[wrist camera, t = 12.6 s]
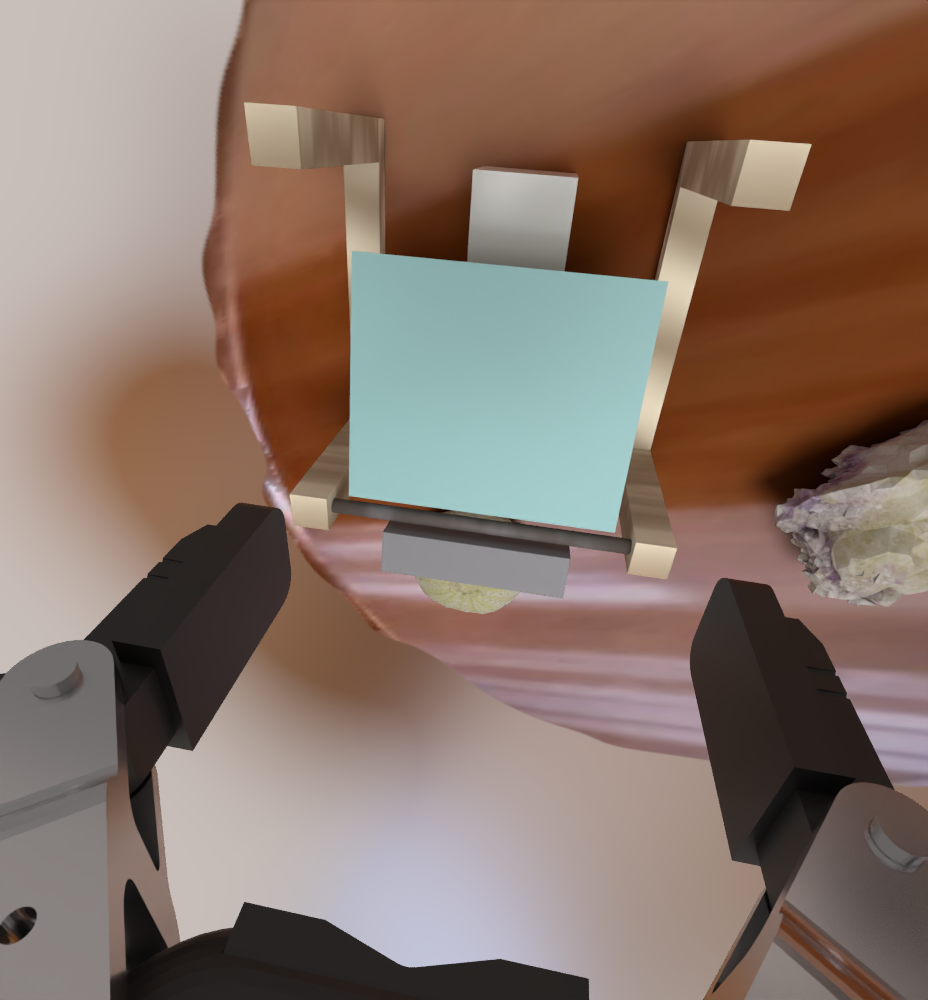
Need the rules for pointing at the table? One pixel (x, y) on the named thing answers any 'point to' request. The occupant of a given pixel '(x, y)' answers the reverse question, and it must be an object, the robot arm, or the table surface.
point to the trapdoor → (494, 406)
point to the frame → (702, 182)
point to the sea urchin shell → (467, 587)
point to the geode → (866, 522)
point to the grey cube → (521, 217)
